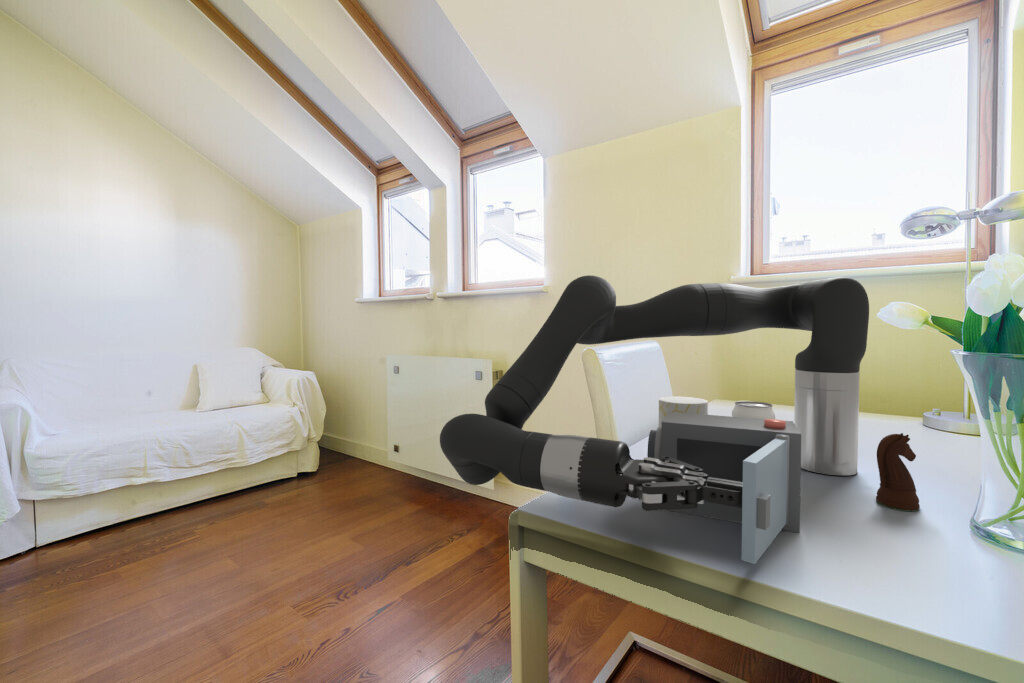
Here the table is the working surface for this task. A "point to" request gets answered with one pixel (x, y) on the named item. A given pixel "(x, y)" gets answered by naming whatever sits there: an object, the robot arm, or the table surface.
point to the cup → (681, 406)
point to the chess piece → (896, 474)
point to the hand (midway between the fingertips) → (746, 495)
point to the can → (753, 410)
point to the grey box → (726, 454)
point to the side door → (764, 497)
